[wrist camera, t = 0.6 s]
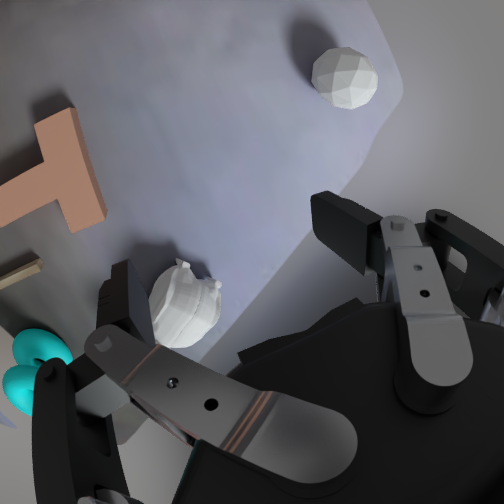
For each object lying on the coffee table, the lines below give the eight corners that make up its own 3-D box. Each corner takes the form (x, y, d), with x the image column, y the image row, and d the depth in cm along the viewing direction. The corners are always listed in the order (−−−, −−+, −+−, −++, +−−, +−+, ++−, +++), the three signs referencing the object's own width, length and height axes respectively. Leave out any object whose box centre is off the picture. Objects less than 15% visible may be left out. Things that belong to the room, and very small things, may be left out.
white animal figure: (159, 248, 36) (109, 347, 33) (184, 258, 29) (121, 379, 26) (208, 278, 41) (161, 367, 38) (241, 292, 34) (184, 398, 31)
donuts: (41, 428, 26) (-12, 390, 20) (46, 378, 34) (4, 339, 28) (85, 413, 27) (27, 368, 22) (86, 358, 35) (42, 313, 30)
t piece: (-12, 155, 19) (-24, 160, 17) (75, 108, 22) (69, 107, 20) (24, 247, 26) (16, 259, 23) (107, 210, 28) (105, 219, 26)
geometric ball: (327, 80, 33) (382, 98, 30) (300, 108, 31) (362, 130, 28) (326, 33, 26) (388, 49, 24) (295, 55, 24) (369, 74, 21)
